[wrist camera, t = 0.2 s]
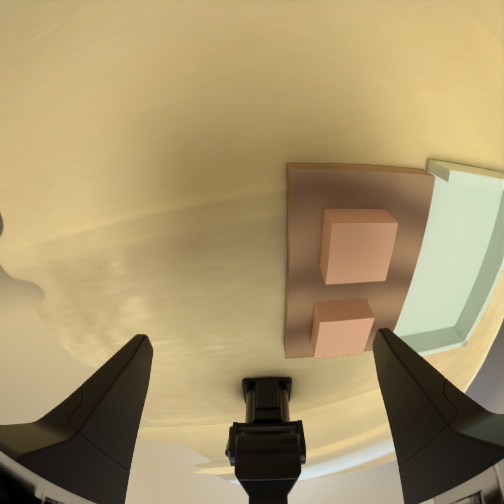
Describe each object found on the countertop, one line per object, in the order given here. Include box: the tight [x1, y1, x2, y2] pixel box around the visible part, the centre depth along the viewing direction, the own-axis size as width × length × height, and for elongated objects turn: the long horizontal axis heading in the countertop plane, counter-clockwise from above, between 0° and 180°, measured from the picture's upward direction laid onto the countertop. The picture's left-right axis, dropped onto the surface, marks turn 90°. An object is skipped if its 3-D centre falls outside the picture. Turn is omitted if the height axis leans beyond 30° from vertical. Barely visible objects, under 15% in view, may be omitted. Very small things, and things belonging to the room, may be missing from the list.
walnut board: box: [284, 163, 435, 359], centre depth 24 cm, size 20×12×2 cm, turn 3°
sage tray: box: [394, 159, 504, 357], centre depth 23 cm, size 22×12×4 cm, turn 3°
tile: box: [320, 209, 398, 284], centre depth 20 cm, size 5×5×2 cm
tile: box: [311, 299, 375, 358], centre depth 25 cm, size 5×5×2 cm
